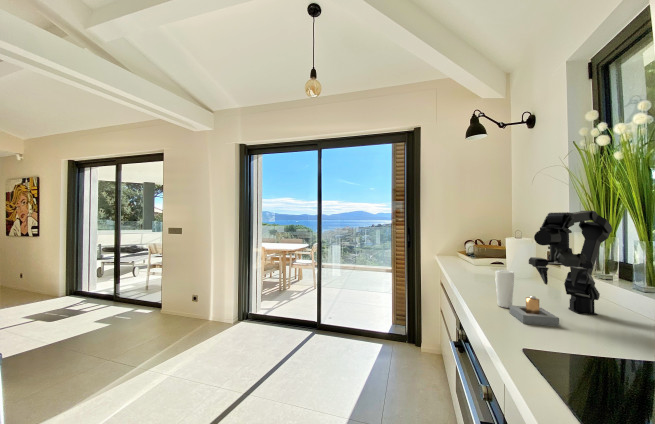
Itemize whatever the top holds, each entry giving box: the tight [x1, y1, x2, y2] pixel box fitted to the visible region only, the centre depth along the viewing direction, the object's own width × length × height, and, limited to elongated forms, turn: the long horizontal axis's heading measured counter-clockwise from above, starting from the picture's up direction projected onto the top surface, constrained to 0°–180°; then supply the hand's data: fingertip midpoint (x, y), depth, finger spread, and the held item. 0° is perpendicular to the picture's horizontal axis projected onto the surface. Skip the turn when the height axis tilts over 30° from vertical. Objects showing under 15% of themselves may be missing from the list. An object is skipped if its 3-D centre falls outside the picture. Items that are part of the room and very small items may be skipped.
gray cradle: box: [509, 304, 560, 328], centre depth 99 cm, size 11×11×3 cm
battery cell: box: [525, 295, 540, 314], centre depth 99 cm, size 4×4×8 cm
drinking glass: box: [494, 269, 515, 309], centre depth 114 cm, size 7×7×15 cm
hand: (559, 285), depth 103 cm, fingers open, 9 cm apart
